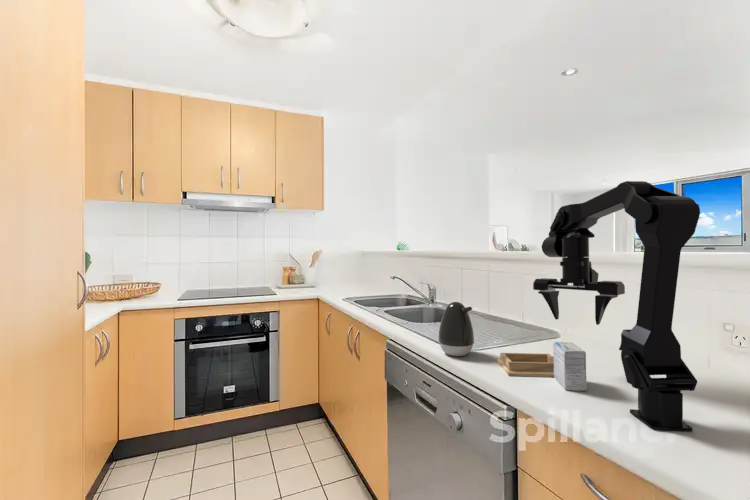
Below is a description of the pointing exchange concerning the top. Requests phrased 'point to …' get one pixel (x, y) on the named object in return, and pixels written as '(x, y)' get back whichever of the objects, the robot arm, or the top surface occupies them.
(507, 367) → the box
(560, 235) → the robot arm
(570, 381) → the medicine box
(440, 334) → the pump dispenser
